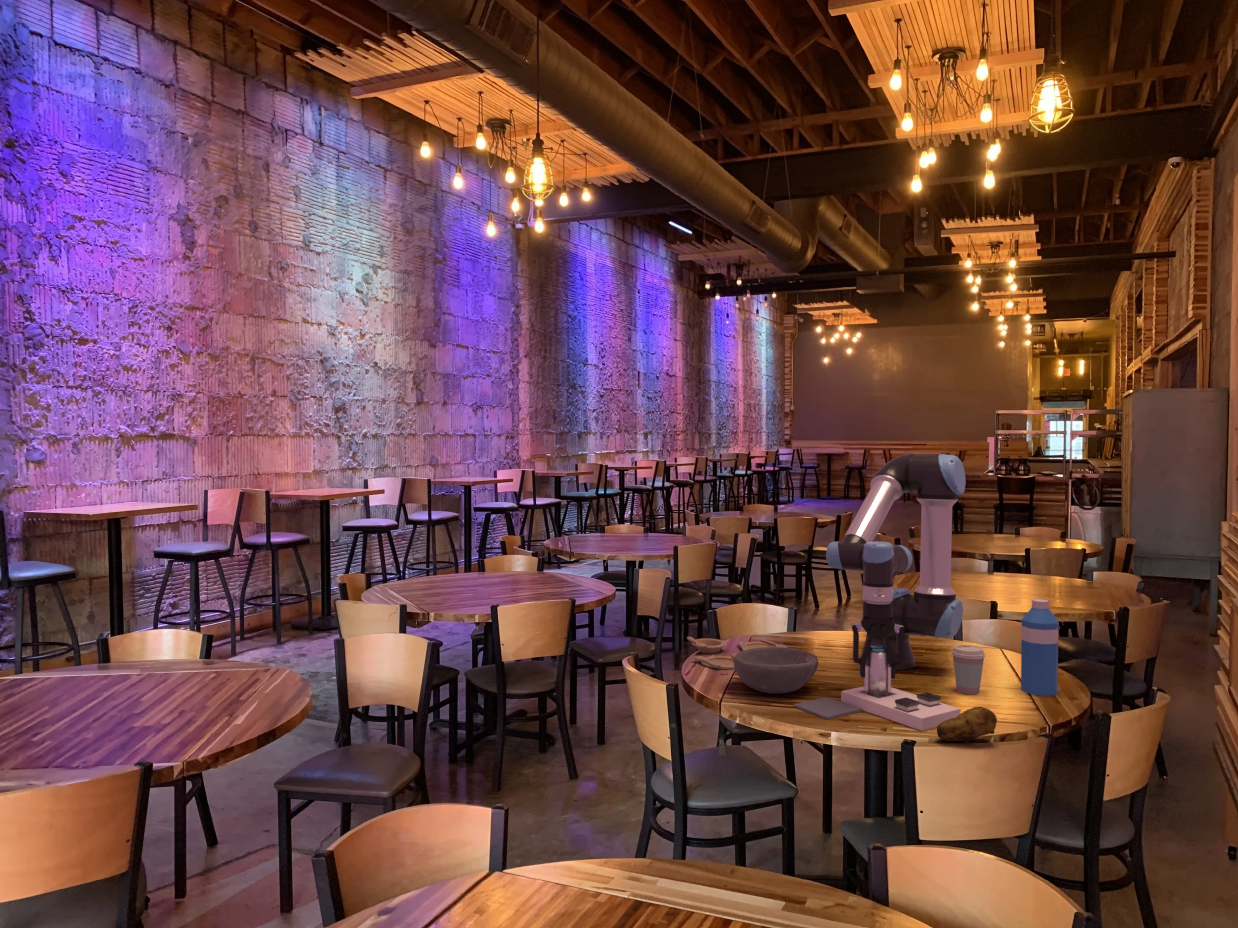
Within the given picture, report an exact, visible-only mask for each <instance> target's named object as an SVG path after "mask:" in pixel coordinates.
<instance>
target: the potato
mask: <svg viewBox="0 0 1238 928" xmlns="http://www.w3.org/2000/svg"><path fill="white" fill-rule="evenodd" d="M997 722H998V719H997V716H996V714H995V713H994V712H993V711H992V710H990V709H989V708H986V707H983V706H974V707H971V708H969V709H966V710H965V711H963V712H960V714H959V715H958V716H957V717H955V718H951V719H948V720H946V721H944V722H942V723H940V724H939V725H938V726H937V727H936V734H937V736H938V737H939V739H941V740H942V741H944V742H968V741H972V740H974V739H977V738H980V737H983V736H986V735H994V734H995V729H996V727H997Z"/></svg>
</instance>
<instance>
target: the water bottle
mask: <svg viewBox="0 0 1238 928" xmlns="http://www.w3.org/2000/svg"><path fill="white" fill-rule="evenodd" d="M1020 645H1021V648H1020V650H1021V653H1020V655H1021V656H1020V659H1021V660H1020V667H1021V668H1020V669H1021V670H1020V691H1023V692H1024V693H1027V694H1029V695H1036V696H1040V697H1041V696H1042V697H1046V696H1047V697H1050V696H1056V695H1057V694H1058V689H1059V688H1058V687H1059V685H1058V683H1059V682H1058V680H1059V679H1058V678H1059V677H1058V676H1059V620H1058V619H1057V617H1056V616H1055V615H1054V613H1053V612H1052V610H1051V609H1050V608H1049V600H1046V599H1043V598H1042V599H1039V598H1036V599H1035V598H1033V599H1031V608H1030V609H1029V610H1028V612H1026V613H1025V615H1024V616H1023V617H1022V619H1021V644H1020Z"/></svg>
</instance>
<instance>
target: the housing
mask: <svg viewBox="0 0 1238 928" xmlns="http://www.w3.org/2000/svg"><path fill="white" fill-rule="evenodd" d="M917 695H918V694H914V693H911V692H909V691H908V692H907V691H904V690H901V689H898V688H895V687H892V686H891V692H888V691H887V697H882V698H876V697H873V696H870V695H867V691H865V689H864V685H863V686H859V687H856V688H855V687H854V688H850V689H845V690H842V691H840V702H843V703H846V704H849V705H851V706H854V707H857V708H860V709H861V711H863V712H866V713H870V714H873V715H875V716H878V717H881V718H883V719H884V718H885V719H886V720H890V721H893V722H895V723H898V724H901V725H903V726H905V727H906V726H907V727H910V728H912V729H915V730H918V731H921V732H923V731H927V730H931V729H935V728H937V726H938V725H939V724H940V723H942V722H944V721H946V720H948V719H951V718H955V717H957V716H958V715H959V714H961V708H959V707H955V706H952V705H949V704H946V703H943V702H940V701H939V705H938V706H933V707H928V706H925V705H921V704H919V705H918V710H917V711H913V712H909V713H908V712H905V711H902V710H899V709H896V703H895V700H897V699H901V698H909V699H913V700H916V701H918V698H917Z"/></svg>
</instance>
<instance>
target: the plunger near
mask: <svg viewBox="0 0 1238 928" xmlns="http://www.w3.org/2000/svg"><path fill="white" fill-rule="evenodd" d="M895 703H896V709H899V710H902V711H905V712H908V713H909V712H913V711H917V710H918V705H919V701H916V700H913V699H909V698H901V699H897V700H895Z"/></svg>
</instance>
